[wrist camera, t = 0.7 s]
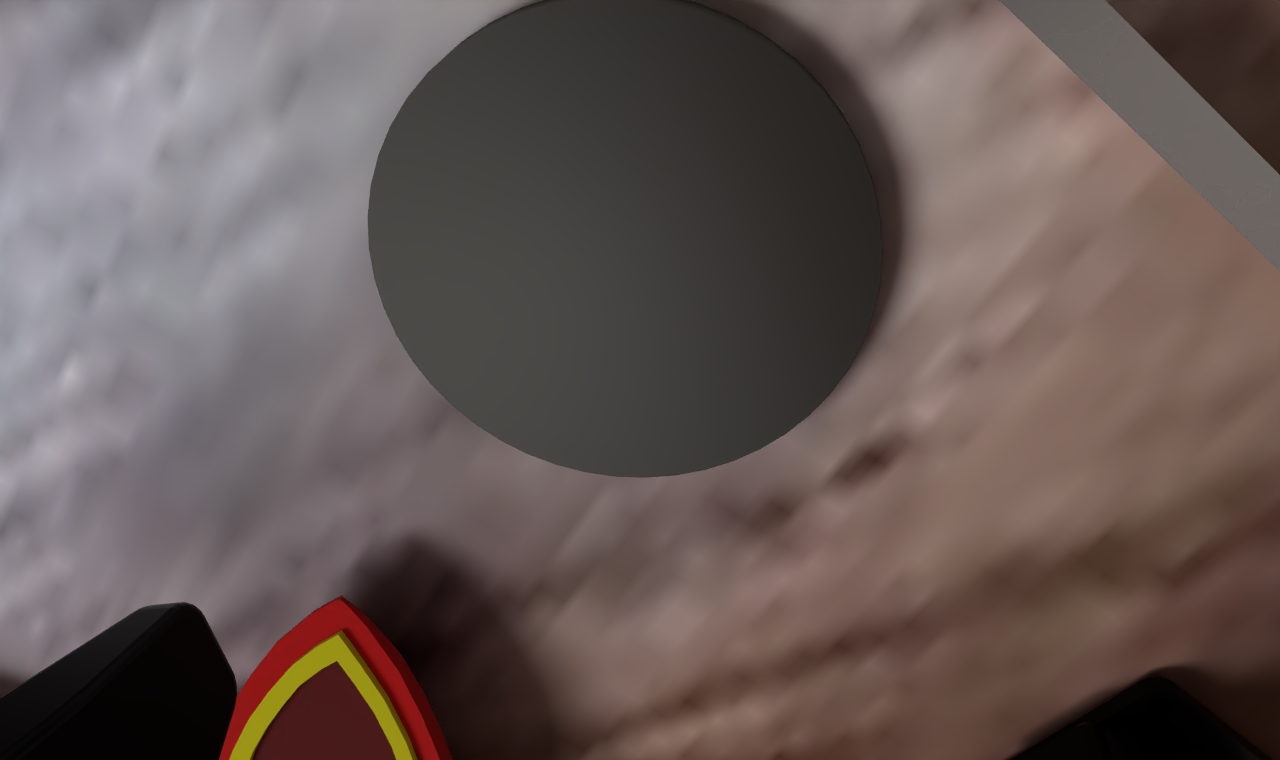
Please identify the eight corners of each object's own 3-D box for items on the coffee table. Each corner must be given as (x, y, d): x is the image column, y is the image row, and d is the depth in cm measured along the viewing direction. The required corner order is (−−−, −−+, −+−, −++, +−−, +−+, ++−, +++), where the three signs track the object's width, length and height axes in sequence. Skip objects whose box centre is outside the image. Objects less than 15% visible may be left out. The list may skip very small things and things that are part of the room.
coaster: (992, 234, 21) (997, 246, 20) (657, 536, 25) (655, 552, 25) (575, -138, 18) (569, -134, 18) (289, 270, 23) (277, 282, 22)
